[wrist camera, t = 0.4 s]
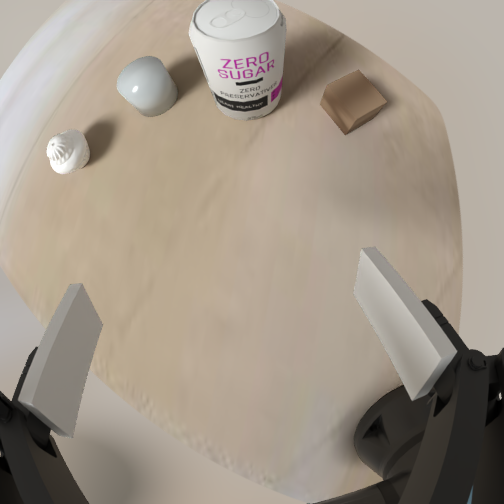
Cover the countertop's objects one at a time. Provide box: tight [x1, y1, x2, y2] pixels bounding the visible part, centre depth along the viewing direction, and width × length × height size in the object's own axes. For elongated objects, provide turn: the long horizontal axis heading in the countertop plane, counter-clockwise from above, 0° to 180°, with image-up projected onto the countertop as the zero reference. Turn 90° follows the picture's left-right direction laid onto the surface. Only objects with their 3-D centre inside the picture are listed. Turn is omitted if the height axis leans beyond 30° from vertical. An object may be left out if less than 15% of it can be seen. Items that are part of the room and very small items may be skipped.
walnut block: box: [320, 70, 387, 135], centre depth 28 cm, size 5×5×5 cm
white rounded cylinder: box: [117, 56, 178, 117], centre depth 28 cm, size 6×6×6 cm
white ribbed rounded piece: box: [46, 129, 90, 174], centre depth 29 cm, size 6×6×7 cm
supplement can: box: [189, 0, 286, 121], centre depth 23 cm, size 8×8×15 cm
